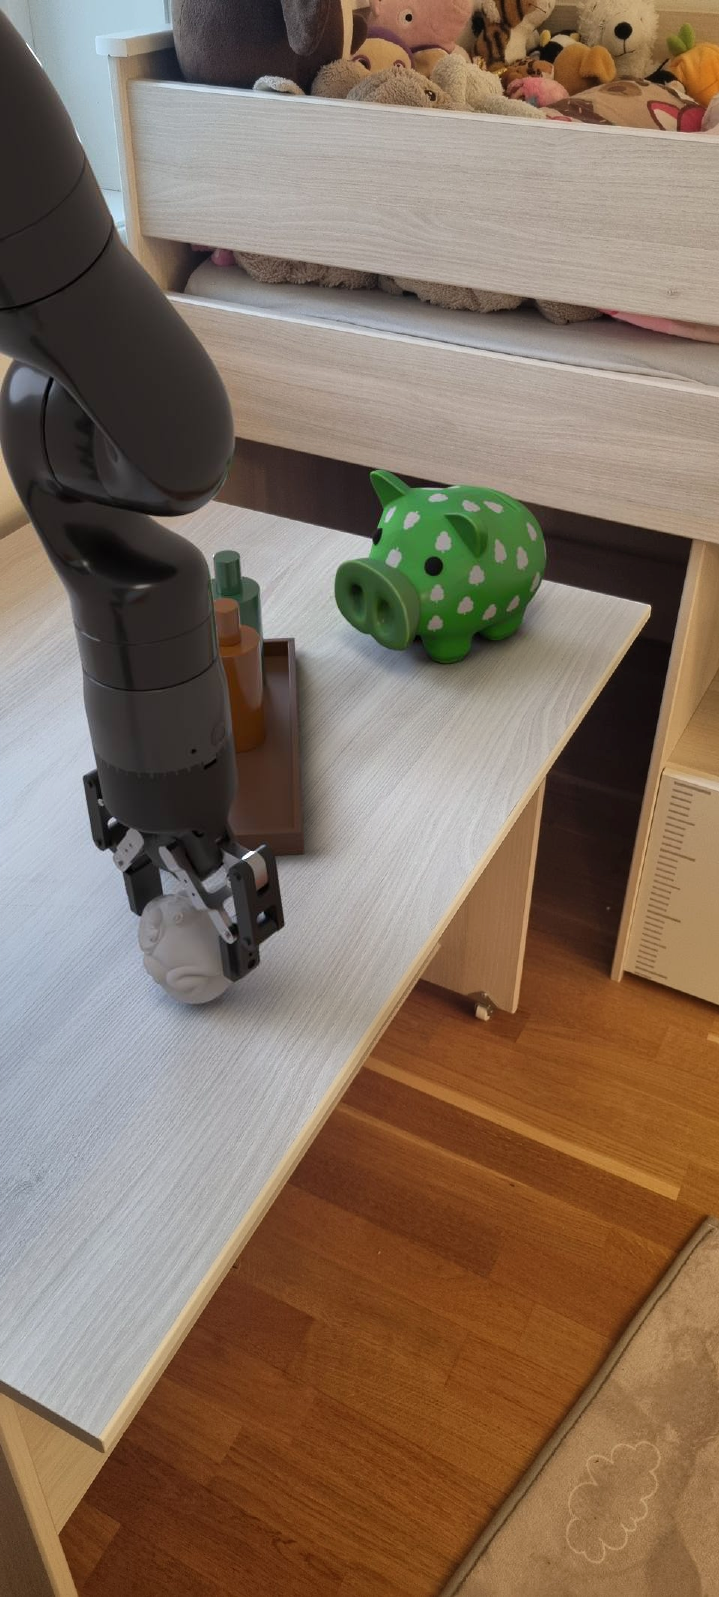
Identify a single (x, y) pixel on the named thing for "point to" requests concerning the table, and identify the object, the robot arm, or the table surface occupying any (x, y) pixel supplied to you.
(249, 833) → the tray
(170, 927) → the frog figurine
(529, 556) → the piggy bank
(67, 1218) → the table surface
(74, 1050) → the table surface
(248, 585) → the green bottle
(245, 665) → the amber bottle
